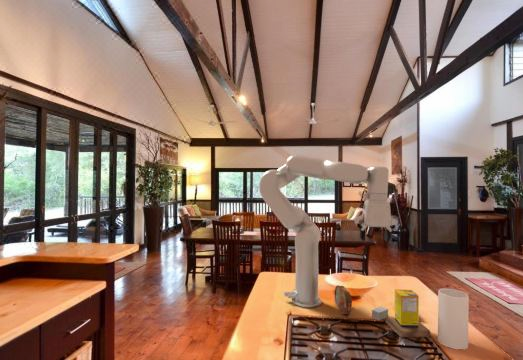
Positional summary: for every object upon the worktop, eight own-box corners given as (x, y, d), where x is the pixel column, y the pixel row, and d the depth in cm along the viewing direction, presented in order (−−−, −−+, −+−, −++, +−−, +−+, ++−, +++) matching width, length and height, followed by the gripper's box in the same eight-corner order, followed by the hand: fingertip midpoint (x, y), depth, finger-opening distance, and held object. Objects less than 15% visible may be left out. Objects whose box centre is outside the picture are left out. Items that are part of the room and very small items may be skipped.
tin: (333, 302, 129) (334, 282, 129) (341, 302, 129) (341, 282, 129) (344, 318, 114) (345, 295, 114) (353, 318, 114) (353, 295, 114)
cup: (434, 334, 102) (435, 287, 102) (462, 338, 100) (463, 289, 100) (441, 347, 94) (442, 295, 94) (472, 351, 92) (472, 299, 92)
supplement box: (411, 319, 108) (411, 289, 108) (418, 328, 102) (419, 295, 102) (394, 319, 109) (394, 288, 109) (400, 327, 103) (401, 295, 103)
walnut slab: (400, 337, 100) (400, 331, 100) (386, 322, 110) (386, 317, 110) (429, 336, 101) (429, 330, 101) (412, 322, 111) (412, 316, 111)
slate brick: (379, 320, 112) (379, 312, 112) (371, 317, 114) (371, 309, 114) (388, 316, 116) (388, 308, 116) (380, 313, 118) (380, 306, 118)
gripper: (358, 197, 116) (356, 241, 116) (403, 199, 117) (400, 243, 117) (352, 196, 124) (350, 237, 124) (394, 198, 124) (391, 239, 124)
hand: (374, 240), depth 120 cm, fingers open, 9 cm apart
